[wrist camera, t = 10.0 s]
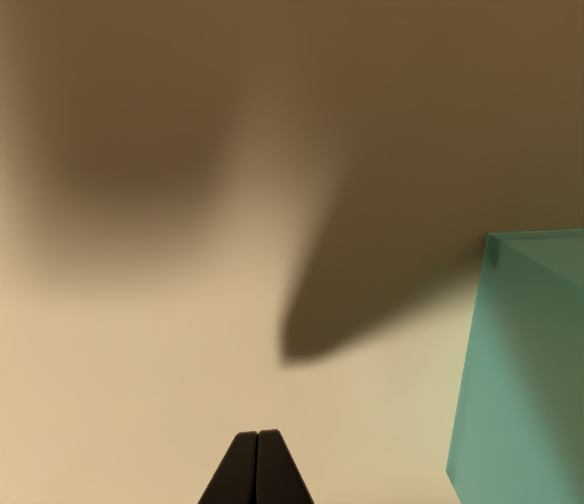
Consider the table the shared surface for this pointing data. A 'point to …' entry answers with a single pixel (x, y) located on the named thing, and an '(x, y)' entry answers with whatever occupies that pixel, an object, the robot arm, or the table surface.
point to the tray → (524, 375)
